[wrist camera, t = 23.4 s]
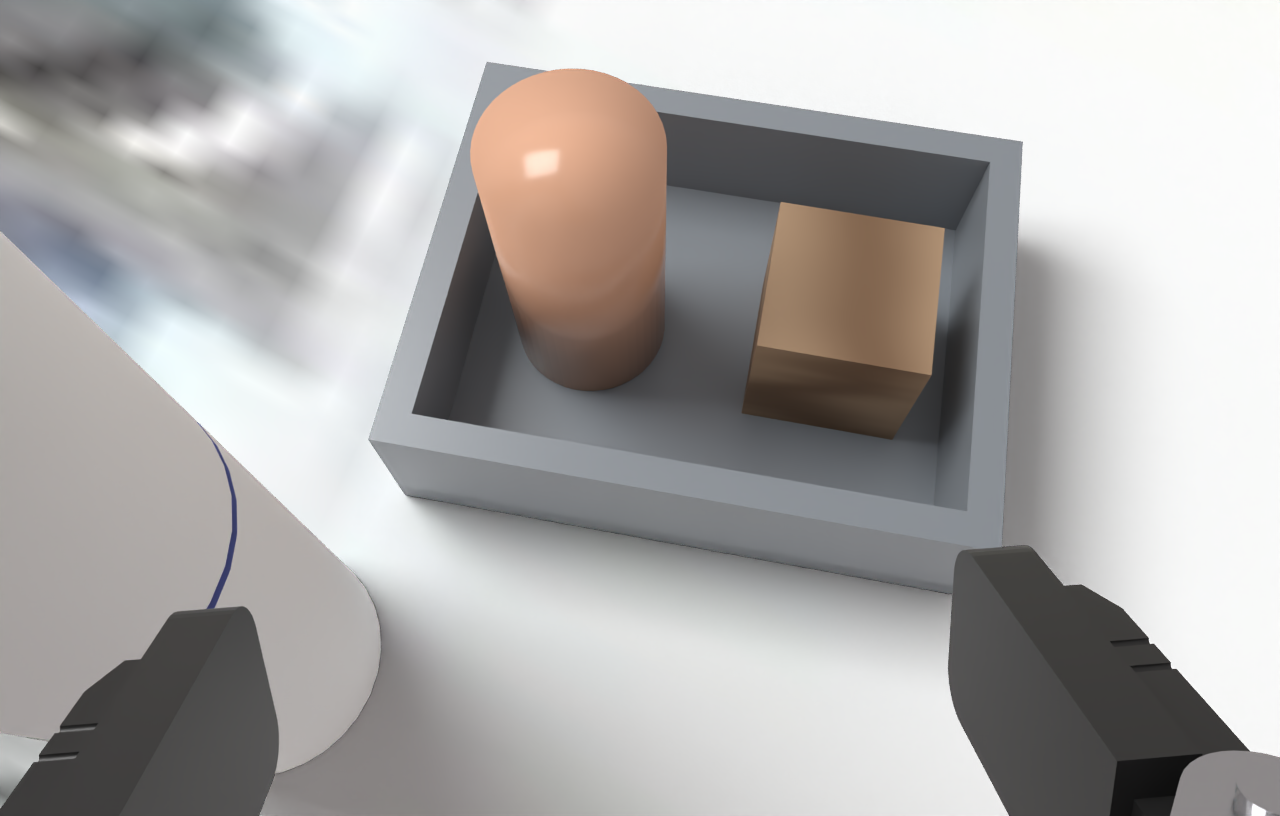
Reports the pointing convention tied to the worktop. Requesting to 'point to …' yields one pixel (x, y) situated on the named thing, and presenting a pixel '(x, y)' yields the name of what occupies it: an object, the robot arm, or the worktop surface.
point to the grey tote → (727, 358)
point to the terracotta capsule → (578, 222)
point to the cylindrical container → (147, 535)
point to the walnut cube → (845, 321)
